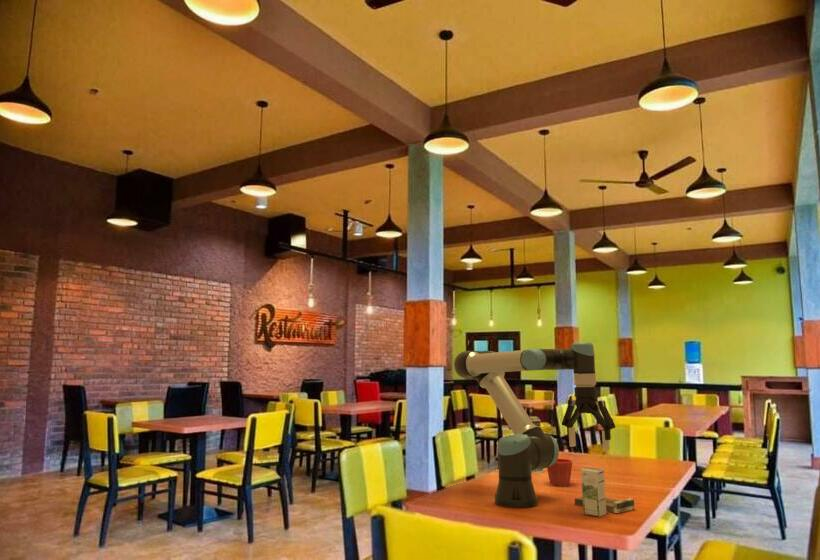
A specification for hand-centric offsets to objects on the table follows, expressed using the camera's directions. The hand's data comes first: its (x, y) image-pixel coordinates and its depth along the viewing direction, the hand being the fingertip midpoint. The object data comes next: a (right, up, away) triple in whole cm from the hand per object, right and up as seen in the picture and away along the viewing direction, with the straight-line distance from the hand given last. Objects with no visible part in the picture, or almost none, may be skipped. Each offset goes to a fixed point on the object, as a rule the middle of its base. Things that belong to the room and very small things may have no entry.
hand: (589, 448), depth 203 cm
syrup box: (-1, -19, -11) cm, 22 cm away
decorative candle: (-4, -31, +68) cm, 75 cm away
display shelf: (+5, -20, 0) cm, 21 cm away
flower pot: (0, -26, +39) cm, 47 cm away
